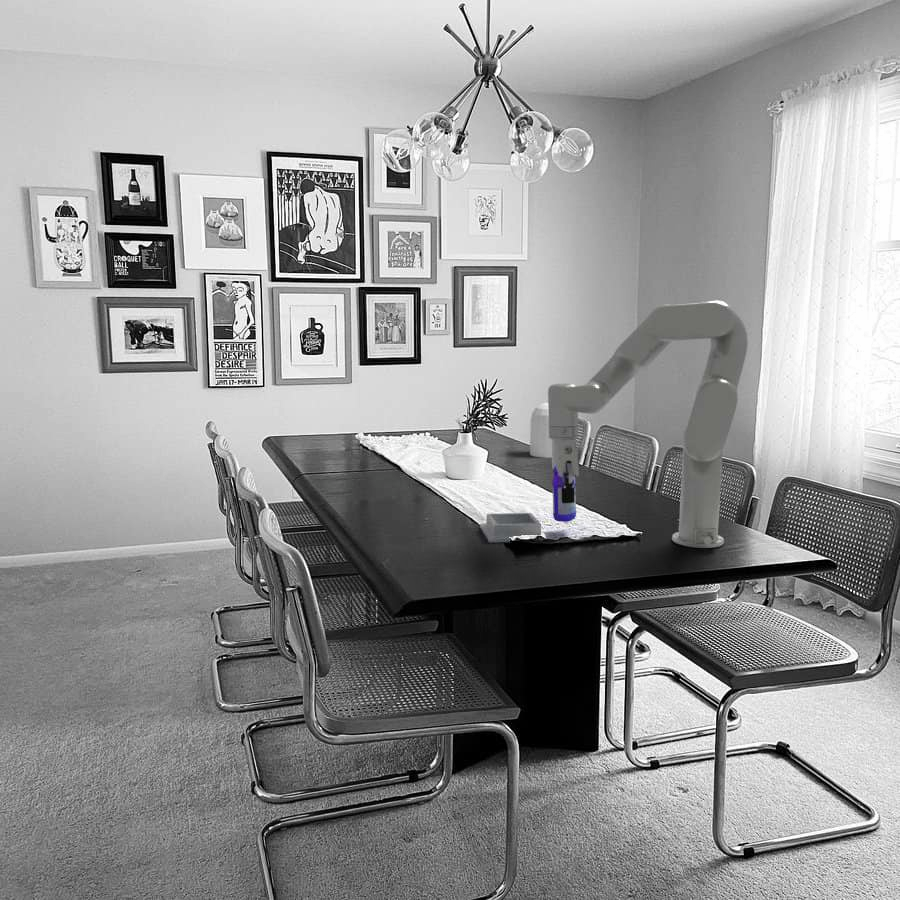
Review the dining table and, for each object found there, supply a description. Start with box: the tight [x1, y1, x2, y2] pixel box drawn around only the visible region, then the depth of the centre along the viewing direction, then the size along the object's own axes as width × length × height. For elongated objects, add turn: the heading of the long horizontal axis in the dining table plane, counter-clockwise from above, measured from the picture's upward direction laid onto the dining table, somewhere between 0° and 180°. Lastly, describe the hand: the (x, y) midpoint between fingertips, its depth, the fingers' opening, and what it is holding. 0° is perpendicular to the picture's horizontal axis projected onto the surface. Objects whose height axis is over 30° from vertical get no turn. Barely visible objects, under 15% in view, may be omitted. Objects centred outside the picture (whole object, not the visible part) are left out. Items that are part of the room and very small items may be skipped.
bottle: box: [551, 467, 577, 523], centre depth 240 cm, size 7×6×17 cm
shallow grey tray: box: [479, 512, 542, 543], centre depth 239 cm, size 15×15×4 cm
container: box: [529, 402, 552, 459], centre depth 352 cm, size 14×13×20 cm
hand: (564, 499), depth 240 cm, fingers closed on bottle, 7 cm apart
